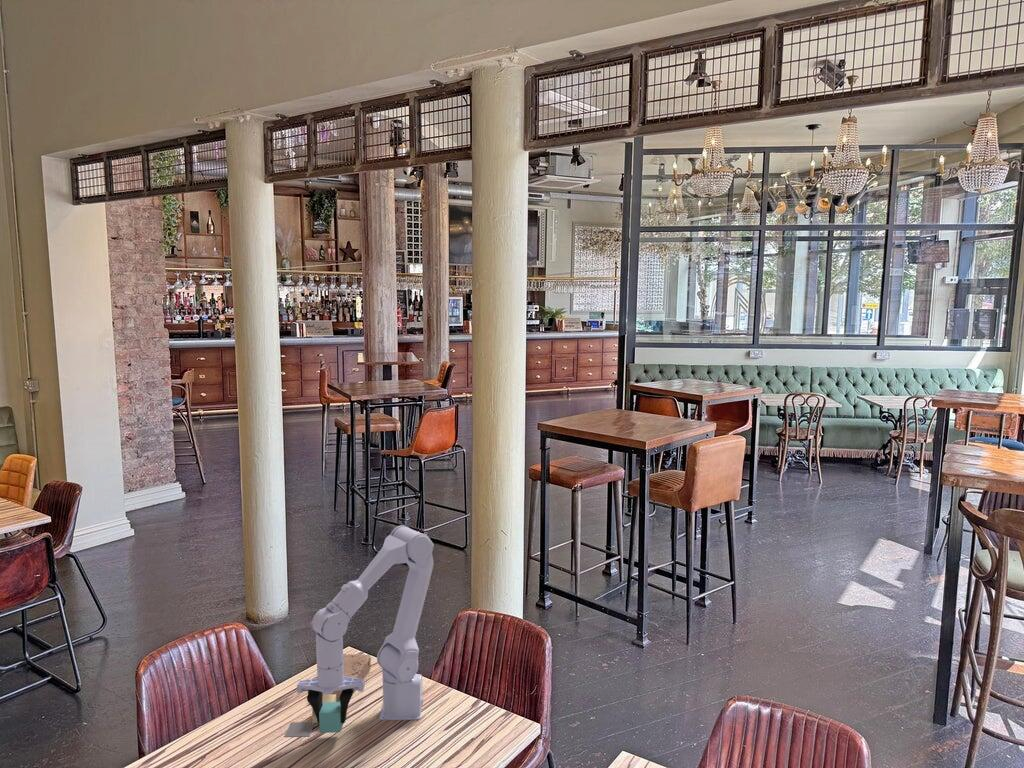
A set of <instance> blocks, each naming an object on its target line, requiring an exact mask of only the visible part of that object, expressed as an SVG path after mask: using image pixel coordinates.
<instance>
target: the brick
mask: <svg viewBox="0 0 1024 768" xmlns="http://www.w3.org/2000/svg"><path fill="white" fill-rule="evenodd" d="M343 664H344V676H345V677H351V678H357V679H364V680H365V678H366V677H367V675H369V672H370V671H371V666H372V657H371V656H370V654H365V653H364V654H362V653H361V654H359V653H353V654H351V653H349V654H346V653H345V654H344V653H343ZM356 691H357V690H354V691H353V694H352V696H353V695H354V693H355V692H356ZM341 693H342V690H340V691H335V692H332V694H336V702H340V695H341Z"/></svg>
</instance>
